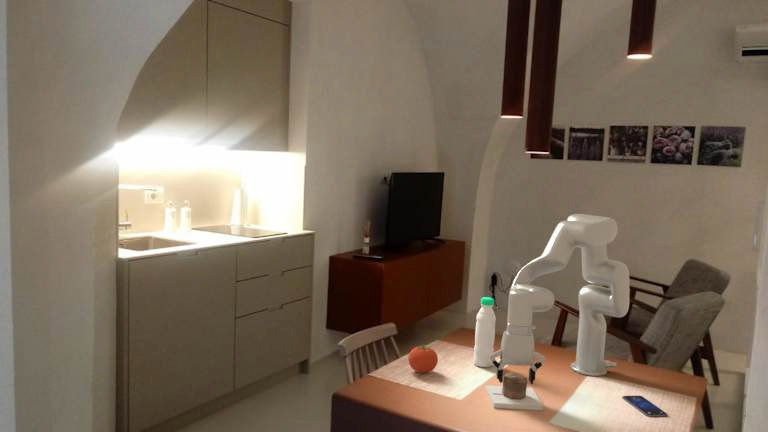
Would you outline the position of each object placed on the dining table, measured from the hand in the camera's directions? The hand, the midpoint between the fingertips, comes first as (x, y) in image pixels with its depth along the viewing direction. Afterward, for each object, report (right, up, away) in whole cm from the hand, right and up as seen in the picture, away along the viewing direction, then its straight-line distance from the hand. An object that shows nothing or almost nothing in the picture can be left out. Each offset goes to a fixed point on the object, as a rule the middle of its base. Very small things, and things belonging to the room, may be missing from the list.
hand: (515, 381), depth 186 cm
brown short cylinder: (-1, -4, 0) cm, 4 cm away
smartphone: (+41, -9, 0) cm, 42 cm away
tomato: (-28, -3, +20) cm, 35 cm away
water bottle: (-5, -3, +31) cm, 32 cm away
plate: (-1, -6, 0) cm, 6 cm away
